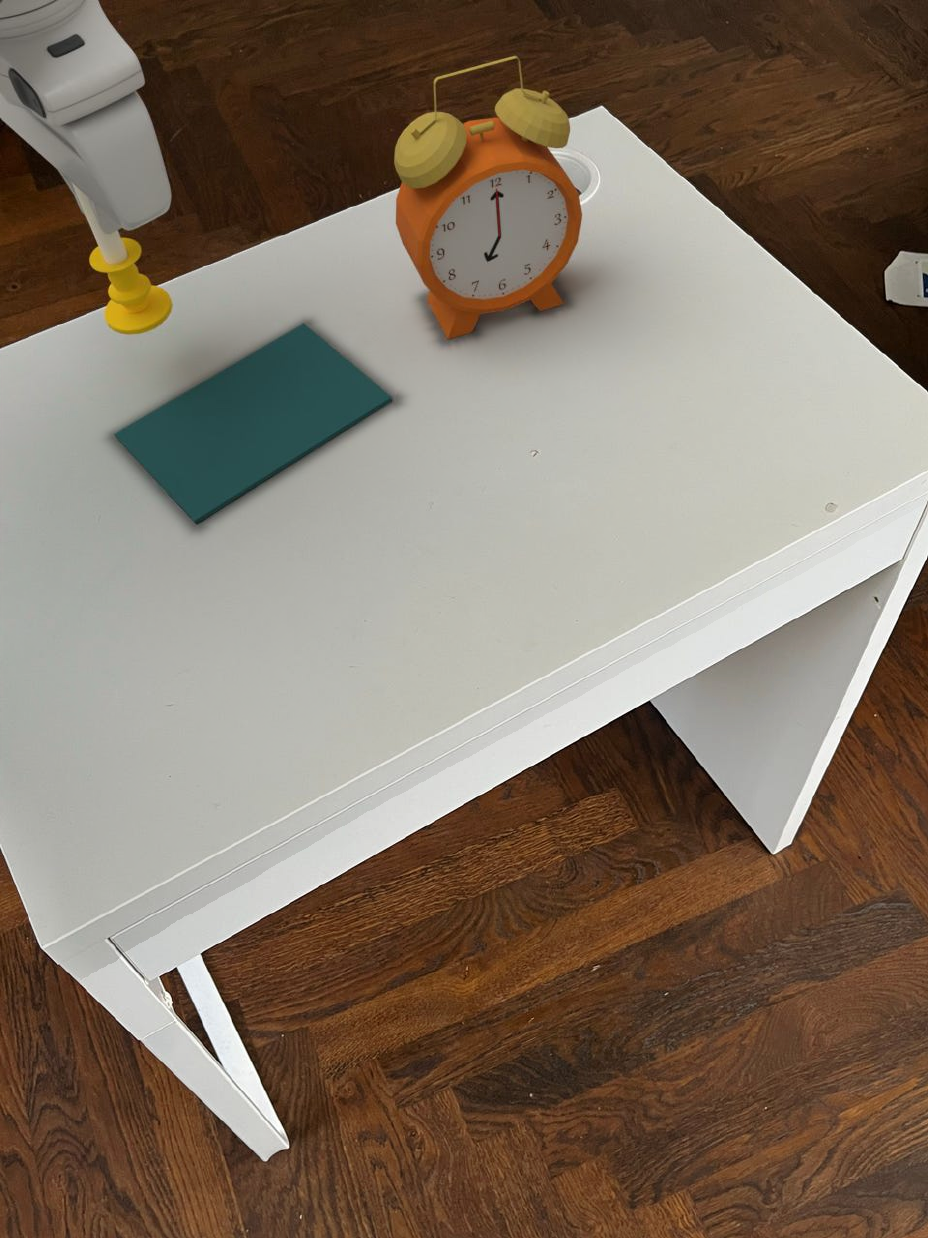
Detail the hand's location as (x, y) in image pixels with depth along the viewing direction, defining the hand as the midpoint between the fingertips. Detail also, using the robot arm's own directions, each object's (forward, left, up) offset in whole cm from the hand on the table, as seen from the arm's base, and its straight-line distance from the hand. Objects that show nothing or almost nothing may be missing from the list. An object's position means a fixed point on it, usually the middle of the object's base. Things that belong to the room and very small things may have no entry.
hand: (105, 220), depth 83 cm
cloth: (+2, -11, -13) cm, 17 cm away
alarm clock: (+24, -14, -14) cm, 31 cm away
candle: (0, -1, -8) cm, 8 cm away
